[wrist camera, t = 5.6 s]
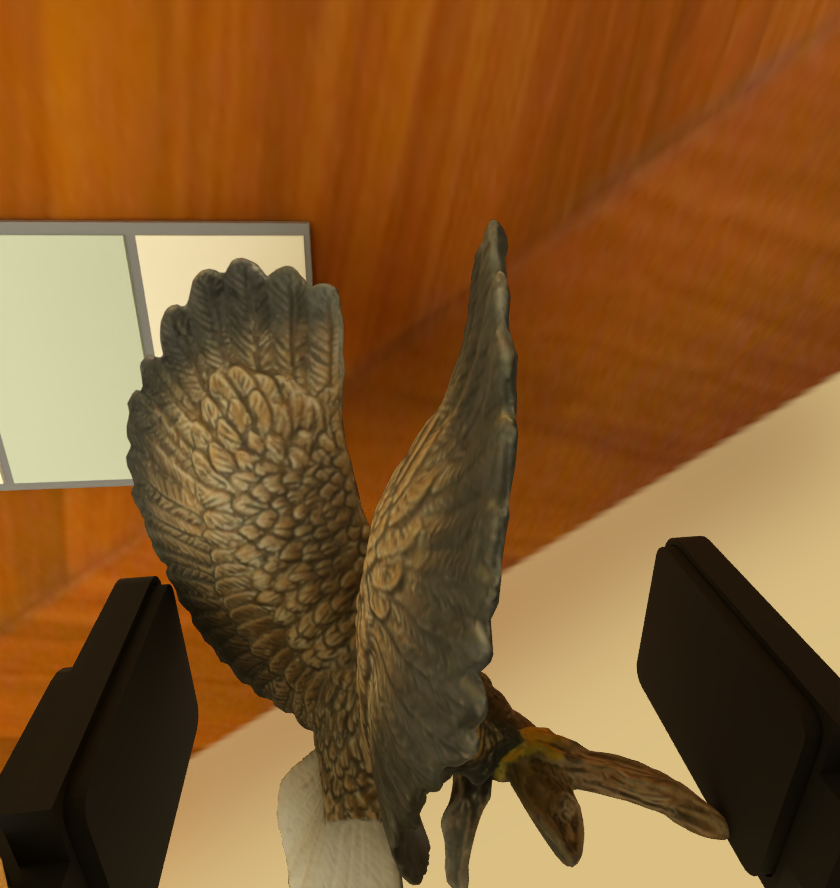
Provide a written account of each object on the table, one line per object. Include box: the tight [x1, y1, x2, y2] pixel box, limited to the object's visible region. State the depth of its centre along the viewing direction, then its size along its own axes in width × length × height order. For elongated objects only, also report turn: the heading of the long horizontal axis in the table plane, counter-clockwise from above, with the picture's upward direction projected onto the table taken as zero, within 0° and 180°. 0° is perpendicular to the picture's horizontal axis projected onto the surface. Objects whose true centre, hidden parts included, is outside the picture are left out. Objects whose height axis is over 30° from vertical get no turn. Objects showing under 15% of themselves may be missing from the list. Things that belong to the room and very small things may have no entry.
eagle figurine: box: [126, 219, 729, 888], centre depth 9 cm, size 8×7×9 cm
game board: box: [0, 219, 313, 491], centre depth 23 cm, size 18×10×1 cm, turn 89°
